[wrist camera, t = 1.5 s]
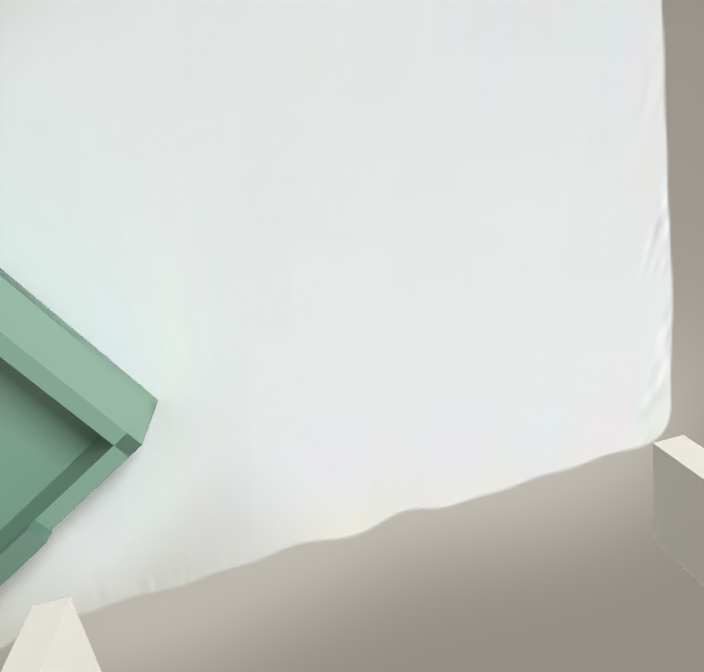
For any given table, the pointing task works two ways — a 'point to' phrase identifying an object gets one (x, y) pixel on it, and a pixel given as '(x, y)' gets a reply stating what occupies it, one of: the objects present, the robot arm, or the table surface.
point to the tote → (55, 422)
